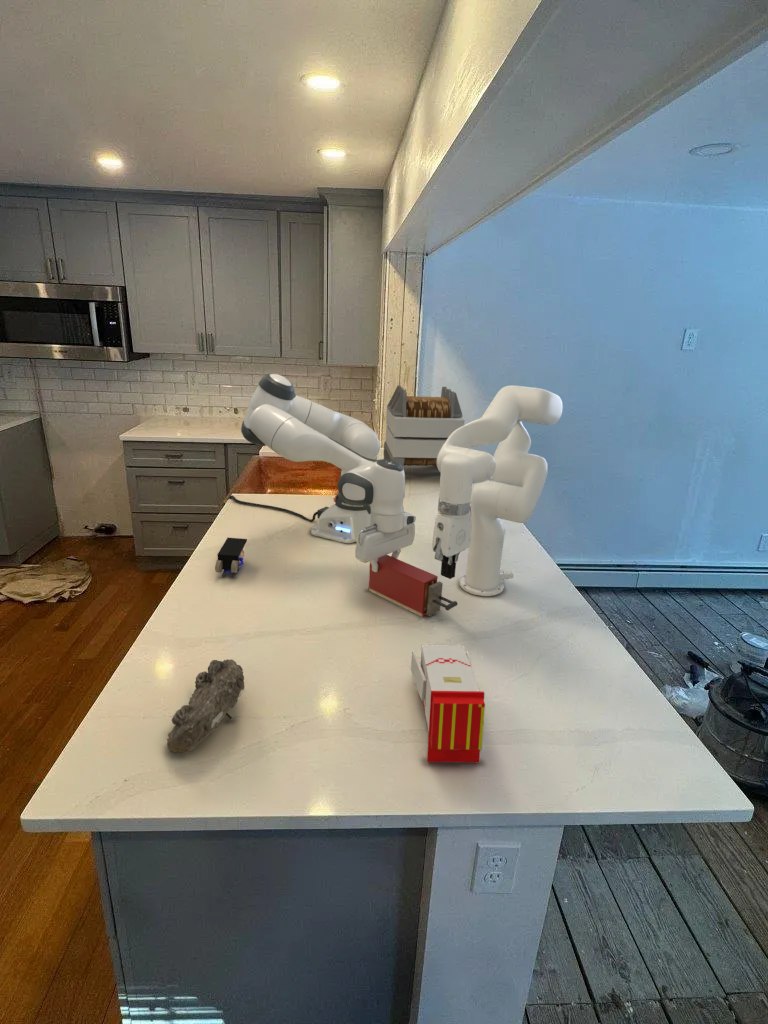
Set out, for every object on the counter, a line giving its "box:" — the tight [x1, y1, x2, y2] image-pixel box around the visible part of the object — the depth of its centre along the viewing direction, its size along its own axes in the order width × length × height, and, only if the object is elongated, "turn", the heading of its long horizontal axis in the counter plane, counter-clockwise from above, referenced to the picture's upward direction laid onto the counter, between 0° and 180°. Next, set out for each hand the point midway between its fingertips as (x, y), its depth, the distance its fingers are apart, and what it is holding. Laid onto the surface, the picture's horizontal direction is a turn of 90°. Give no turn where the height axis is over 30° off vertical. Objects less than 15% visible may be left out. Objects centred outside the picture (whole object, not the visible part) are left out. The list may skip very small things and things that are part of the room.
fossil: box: [166, 658, 245, 754], centre depth 106 cm, size 22×10×15 cm
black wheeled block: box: [214, 537, 248, 578], centre depth 166 cm, size 7×8×15 cm
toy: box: [410, 644, 486, 764], centre depth 111 cm, size 12×13×30 cm
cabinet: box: [368, 554, 439, 618], centre depth 153 cm, size 19×6×10 cm, turn 47°
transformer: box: [383, 384, 465, 469], centre depth 268 cm, size 34×33×41 cm
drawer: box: [424, 580, 458, 617], centre depth 150 cm, size 24×4×8 cm, turn 47°
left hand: (384, 567), depth 156 cm, fingers closed on cabinet, 5 cm apart
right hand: (447, 576), depth 141 cm, fingers closed
